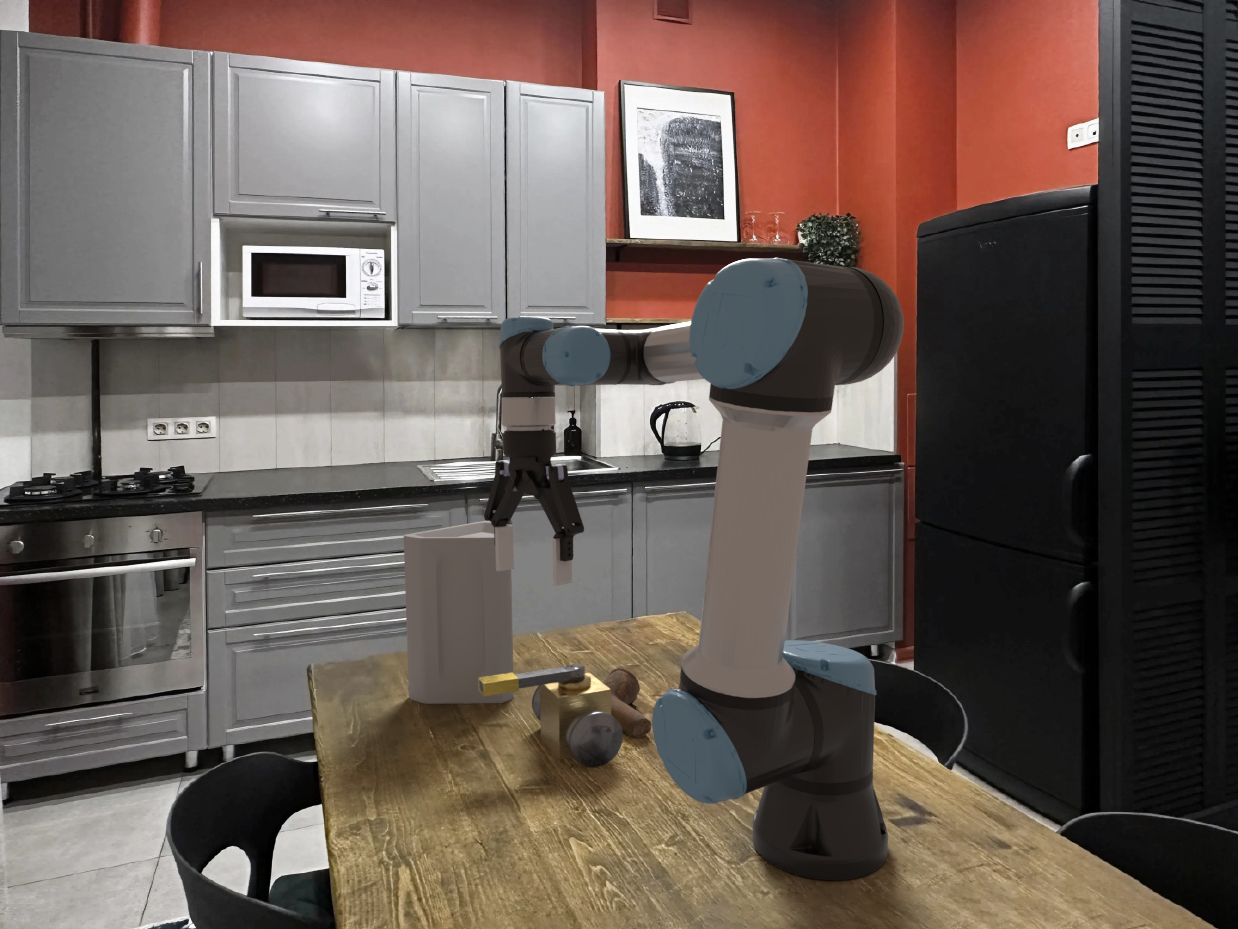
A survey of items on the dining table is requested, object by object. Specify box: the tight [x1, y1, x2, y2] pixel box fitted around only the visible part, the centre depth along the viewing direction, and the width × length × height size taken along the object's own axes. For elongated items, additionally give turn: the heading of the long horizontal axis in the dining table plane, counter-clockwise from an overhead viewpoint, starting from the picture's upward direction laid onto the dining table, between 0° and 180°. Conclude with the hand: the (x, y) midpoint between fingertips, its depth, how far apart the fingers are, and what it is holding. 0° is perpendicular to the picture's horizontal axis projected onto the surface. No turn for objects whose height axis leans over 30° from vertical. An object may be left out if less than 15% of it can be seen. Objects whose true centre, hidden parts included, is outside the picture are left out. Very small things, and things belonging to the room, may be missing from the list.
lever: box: [479, 663, 586, 696], centre depth 124 cm, size 16×3×2 cm, turn 114°
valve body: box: [531, 672, 624, 768], centre depth 127 cm, size 17×8×10 cm, turn 25°
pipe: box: [601, 667, 652, 739], centre depth 137 cm, size 6×17×10 cm
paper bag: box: [403, 520, 515, 705], centre depth 149 cm, size 19×15×28 cm
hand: (532, 576), depth 124 cm, fingers open, 13 cm apart
